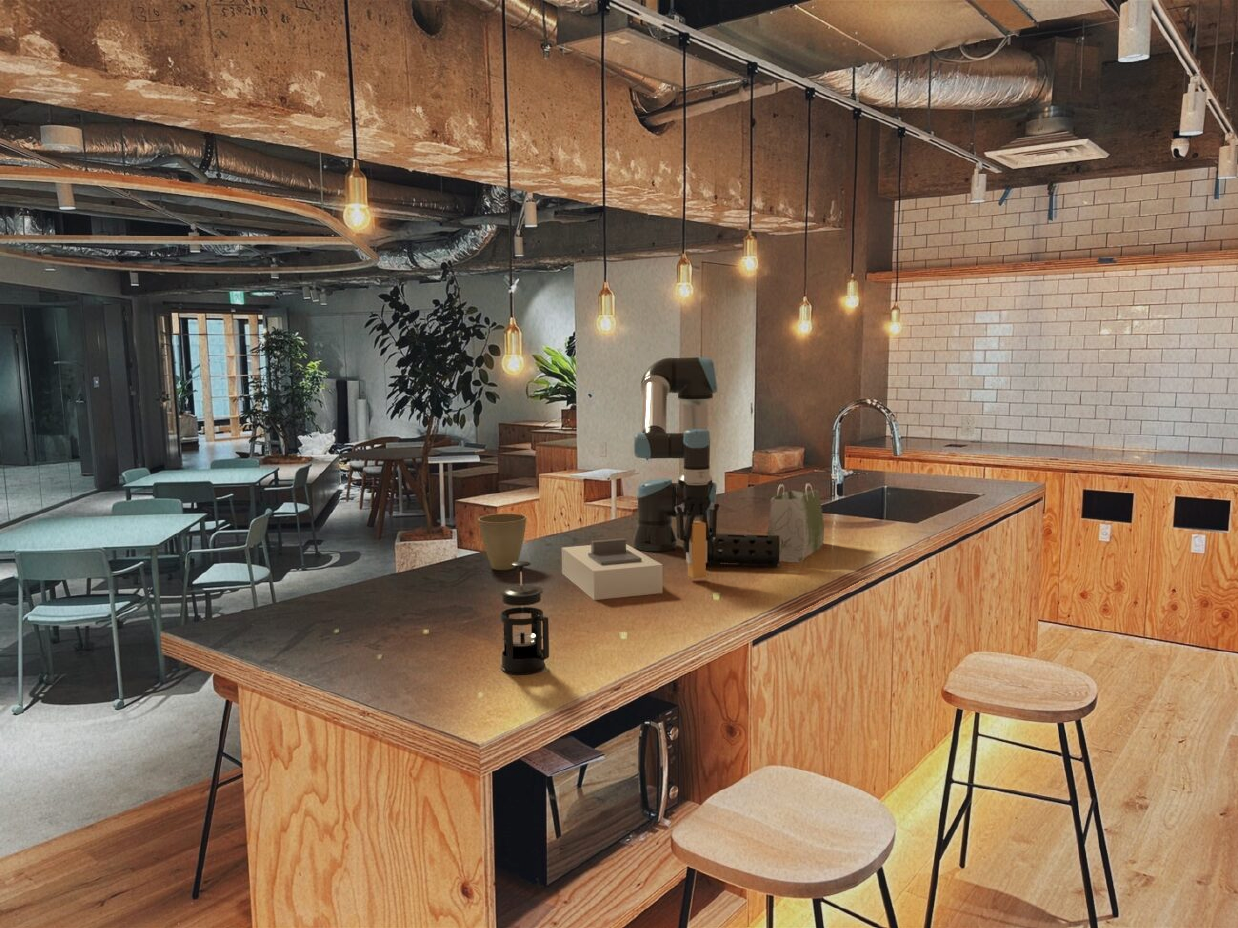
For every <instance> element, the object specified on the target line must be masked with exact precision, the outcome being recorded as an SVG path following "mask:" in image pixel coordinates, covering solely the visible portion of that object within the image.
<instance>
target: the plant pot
mask: <svg viewBox="0 0 1238 928" xmlns="http://www.w3.org/2000/svg"><path fill="white" fill-rule="evenodd" d="M477 521H478V524H479V525H478V527H479V530H480V535H481V536H480V537H481V539H482V543H483V547H484V550H485V553H486V555H487V558H488V561H489V563H490V565H491V568H492V569H493V570H497V571H508V570H513V569H515V568H516V566H512V565H511V563H513V562H517V561H519V559H520V555H521V551H522V548H523V543H524V537H525V532H526V524H527V516H526V515H525V514H521V513H506V512H505V513H493V514H487V515H482V516H479V517H478V518H477Z"/></svg>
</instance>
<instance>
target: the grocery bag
mask: <svg viewBox="0 0 1238 928" xmlns="http://www.w3.org/2000/svg"><path fill="white" fill-rule="evenodd" d="M808 487H809V488H810V490H809V491H808V490H807V489H808ZM781 488H783V489H782V491H783V492H782V494H779V493H780V490H781ZM804 489H805V490H804V492H801V491H795V490H788V491H786V492H785V485H784V483H782V484H781V483H780V484H779V485H778V488H777V492H776V495H775V496H773V497H772V498H771V499H770V514H769V515H770V516H769V521H768V527H767V533H766V535H779V537H780V549H779V562H786V563H787V562H788V563H799V564H801V563H802V562H803V561H804V559H805V558H806V557H808V556H810V555H811V554H813V553H815V552H816V551H818V550H819V549H821V548H822V546H823V544H824V536H825V535H824V534H825V525H824V517H823V508H822V503H821V498H820V495H819V490H818V489H814V490H813V487H812V485H811V483H810V482H808V483H806V484H805V488H804Z"/></svg>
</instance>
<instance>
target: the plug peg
mask: <svg viewBox="0 0 1238 928" xmlns="http://www.w3.org/2000/svg"><path fill="white" fill-rule="evenodd" d="M690 541H691V542H692V564H689V563H687V576H688V577H689V578H692V579H698V578H706V577H707V576H706V575H707V566H706V565H707V563H706V523H703V522H701V521H700V520H694V521H693V524H692V531H691V537H690Z"/></svg>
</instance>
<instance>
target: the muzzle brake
mask: <svg viewBox="0 0 1238 928" xmlns="http://www.w3.org/2000/svg"><path fill="white" fill-rule="evenodd" d="M779 549H780V537H779V535H767V534H764V535H763V534H738V533H737V534H730V533H716V537H713V538H712V539H711V540H710V549H709V550H708V551H707V563H708V566H720V565H721V564H733V565H735V564H736V565H737V566H739V567H740V566H747V567H767V568H768V567H769V568H778V566H779V565H780V561H779Z"/></svg>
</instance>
